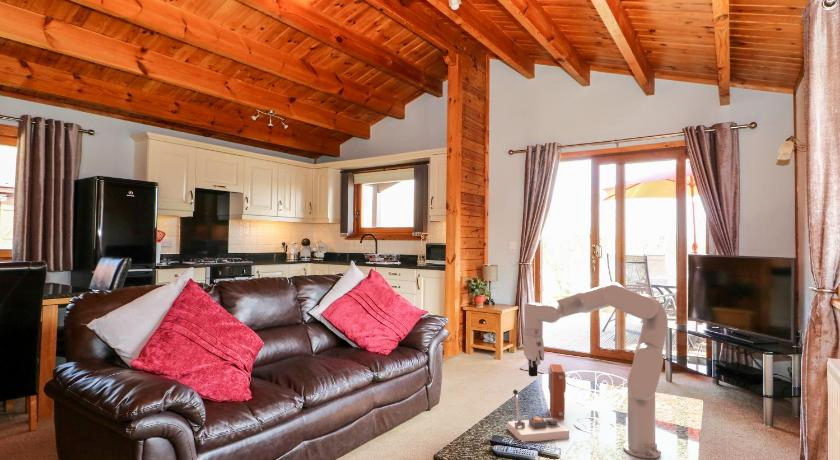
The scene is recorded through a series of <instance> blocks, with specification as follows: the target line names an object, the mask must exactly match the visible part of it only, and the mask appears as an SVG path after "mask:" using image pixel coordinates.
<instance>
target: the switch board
mask: <svg viewBox="0 0 840 460" xmlns="http://www.w3.org/2000/svg"><path fill="white" fill-rule="evenodd" d="M538 417H539V418H542V417H540V416H538ZM533 418H534V417H529V418H528V419H524V420H522V419H521V422H523V426H518V423H517V422H518V420H513V421H512V420H511V421H510V420H509V421H507V423H506V424H507V425H506V427H507V430H508V431H509V432H510V433H511V434H512V435H513V436H514V437H515V438H516V439H517V440H518V441H520V440H521V441H531V442H530V443H532V441H533V442H540V441H541V442H542V441H551V440H552V439H553V440H561V439H563V440H564V439H569V438H570V430H569V429H568V428H566V427H565V426H564V425H563V424H562V423H560V422H558V423H553V424H550V423H548V420H547V419H553V418H552V417H545V418H542V422H534V421H533ZM555 420H558V421H559V419H555ZM553 440H552V441H553ZM521 441H520V442H521Z"/></svg>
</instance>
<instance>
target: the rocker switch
mask: <svg viewBox="0 0 840 460" xmlns="http://www.w3.org/2000/svg"><path fill="white" fill-rule="evenodd" d="M547 420H548V423H550V424H553V423H559V419H558V420H555V419H547Z"/></svg>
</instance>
